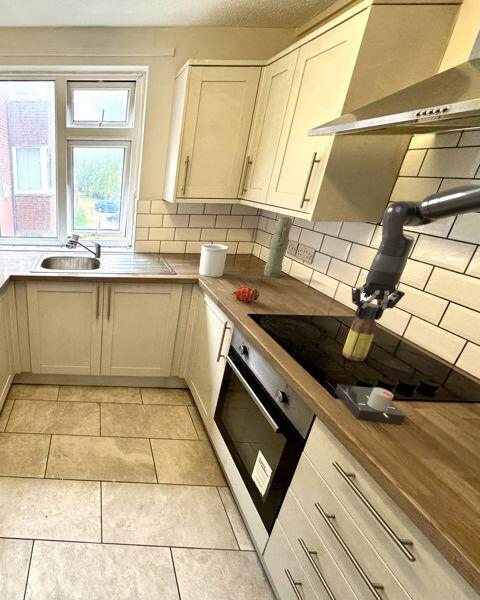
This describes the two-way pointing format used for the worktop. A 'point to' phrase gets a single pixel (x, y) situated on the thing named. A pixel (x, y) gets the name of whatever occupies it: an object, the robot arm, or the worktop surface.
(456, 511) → the worktop surface
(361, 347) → the sauce bottle
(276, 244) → the grey green carved column
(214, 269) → the utensil holder
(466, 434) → the worktop surface
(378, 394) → the dial
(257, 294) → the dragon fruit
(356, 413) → the rotary knob panel
